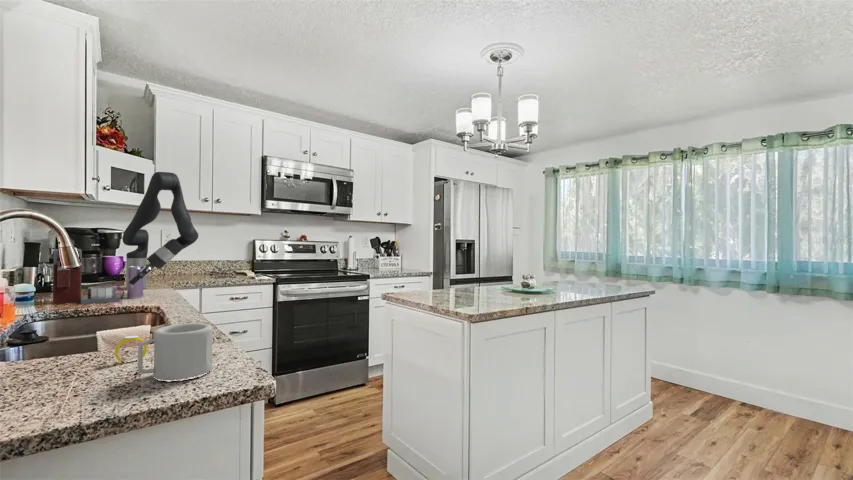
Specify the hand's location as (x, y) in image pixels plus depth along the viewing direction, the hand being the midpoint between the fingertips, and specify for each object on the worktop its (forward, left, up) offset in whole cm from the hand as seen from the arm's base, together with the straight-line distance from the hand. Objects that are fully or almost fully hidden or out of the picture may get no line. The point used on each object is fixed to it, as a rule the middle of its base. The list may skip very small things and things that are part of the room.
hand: (130, 282), depth 186 cm
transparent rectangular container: (+1, -10, -7) cm, 13 cm away
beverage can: (0, +2, -7) cm, 8 cm away
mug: (+134, +11, -8) cm, 135 cm away
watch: (+117, +3, -8) cm, 117 cm away
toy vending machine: (+1, -22, -7) cm, 23 cm away
